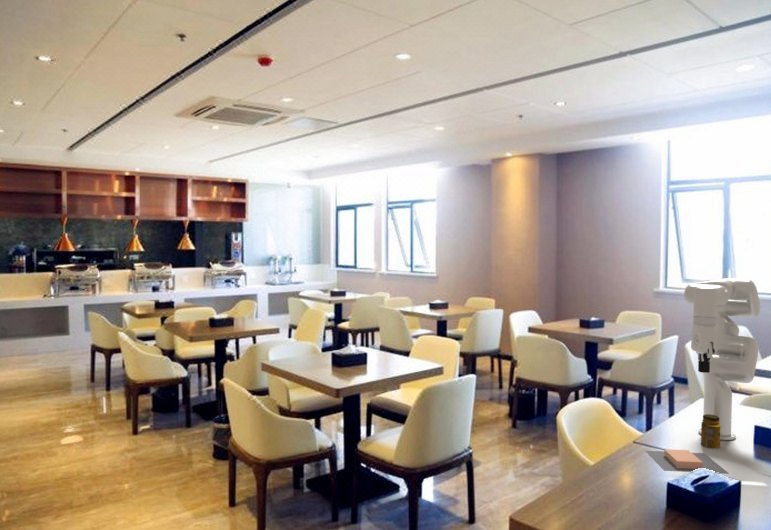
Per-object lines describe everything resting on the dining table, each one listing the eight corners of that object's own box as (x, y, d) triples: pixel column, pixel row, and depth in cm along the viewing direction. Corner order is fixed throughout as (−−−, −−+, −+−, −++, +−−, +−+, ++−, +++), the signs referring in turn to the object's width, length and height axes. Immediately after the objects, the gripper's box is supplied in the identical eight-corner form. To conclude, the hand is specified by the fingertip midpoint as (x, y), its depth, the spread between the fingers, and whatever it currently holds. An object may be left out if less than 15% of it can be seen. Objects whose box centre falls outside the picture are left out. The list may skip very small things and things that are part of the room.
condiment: (724, 449, 205) (725, 417, 204) (713, 454, 200) (713, 420, 200) (704, 443, 211) (705, 412, 210) (692, 447, 206) (693, 415, 206)
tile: (664, 449, 195) (677, 461, 184) (688, 450, 194) (702, 462, 183) (664, 455, 195) (677, 468, 184) (688, 456, 194) (702, 469, 183)
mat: (644, 453, 200) (645, 450, 200) (704, 455, 198) (704, 453, 198) (664, 473, 182) (664, 470, 182) (729, 476, 180) (729, 473, 180)
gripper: (685, 318, 208) (684, 367, 209) (703, 323, 193) (702, 376, 194) (706, 318, 207) (705, 367, 208) (726, 324, 192) (725, 377, 193)
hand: (703, 371), depth 201 cm, fingers closed
